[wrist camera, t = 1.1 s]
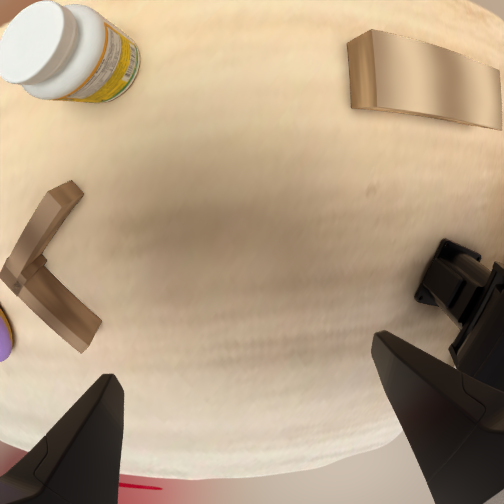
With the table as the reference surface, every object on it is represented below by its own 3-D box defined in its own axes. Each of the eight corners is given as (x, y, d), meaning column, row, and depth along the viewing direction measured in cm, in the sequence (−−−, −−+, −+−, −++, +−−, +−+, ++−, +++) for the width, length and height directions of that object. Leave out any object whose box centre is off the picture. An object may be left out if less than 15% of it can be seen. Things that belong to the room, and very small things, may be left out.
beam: (468, 69, 17) (499, 68, 13) (470, 125, 19) (501, 130, 15) (346, 40, 16) (371, 26, 13) (351, 108, 18) (377, 106, 15)
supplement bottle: (155, 71, 16) (99, 34, 8) (94, 119, 17) (9, 125, 9) (119, 19, 14) (54, -32, 6) (62, 67, 15) (-24, 51, 6)
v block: (83, 179, 19) (60, 190, 16) (104, 330, 24) (92, 355, 21) (8, 184, 18) (-18, 195, 15) (36, 319, 23) (20, 341, 20)
